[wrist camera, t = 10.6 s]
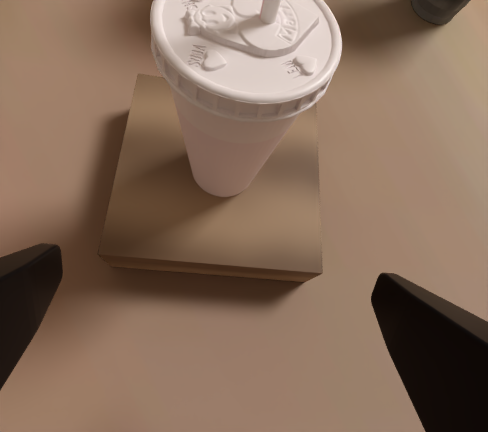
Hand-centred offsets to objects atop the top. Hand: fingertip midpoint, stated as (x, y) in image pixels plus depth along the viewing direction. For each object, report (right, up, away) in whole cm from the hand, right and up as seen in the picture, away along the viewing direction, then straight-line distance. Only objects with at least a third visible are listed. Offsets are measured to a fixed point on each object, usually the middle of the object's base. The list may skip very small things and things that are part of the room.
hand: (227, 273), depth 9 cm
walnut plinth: (-1, +4, +13) cm, 14 cm away
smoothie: (-1, +4, +10) cm, 11 cm away
